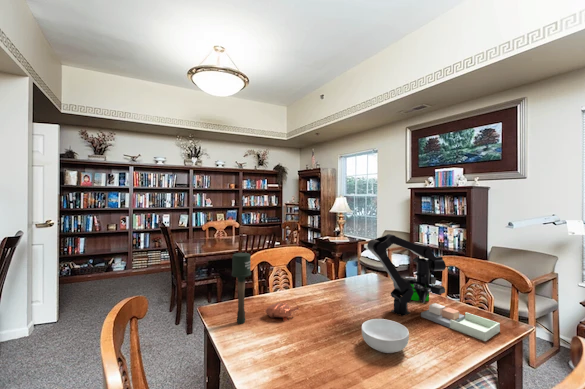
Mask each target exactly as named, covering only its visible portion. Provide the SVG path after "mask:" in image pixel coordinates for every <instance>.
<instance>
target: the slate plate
mask: <svg viewBox="0 0 585 389" xmlns="http://www.w3.org/2000/svg"><path fill="white" fill-rule="evenodd" d="M420 317H421V318H424V319H426V320H428V321H431V322H434V323H436V324H439V325H440V326H444V327H446V328H449V329H451V328H450V320H451V319H448V318H445V317H443V316H442V315H437V314H434V313H431V312H429V309H427V310H424V311H422V312H420ZM463 319H465V315H464V314H461V313H459V318H458V319H456V320H454V321H457V322H459V321H461V320H463Z"/></svg>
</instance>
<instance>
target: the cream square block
mask: <svg viewBox="0 0 585 389" xmlns="http://www.w3.org/2000/svg"><path fill="white" fill-rule="evenodd" d="M445 308H447V307H446V306H444V305H442V304H440V303H436V302H435V303H430V304H429V305H428V310H429V312H431V313H434V314H437V315H442V310H443V309H445Z"/></svg>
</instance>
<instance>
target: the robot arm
mask: <svg viewBox="0 0 585 389" xmlns="http://www.w3.org/2000/svg"><path fill="white" fill-rule="evenodd" d="M393 244H394V245H396V246H398V247H401V248H404V249H405V250H409V251H411V253H413V254H415V255H417V256H415V258H413V259H412V262H414V263H416V272H415V273H414V275H415V276H416V277H417V281H416V279H414V277H413V278H410V277H411V276H407V277H408V278H405V277H402V276H401V274H400V273H399V271H398V270H397V268H396V267H395V264H393V262H392V260H391V259H390V257H389V256H388V250H387V249H389V248H390V247H391V246H392V245H393ZM366 247H367V250H369V251H370V253H372V255H374V256H375V257H376V258H377V259H378V260H379V262H380V263H381V265H382V266H383V268H384V270H385V271H386V273H387V274H388V276H389V277H390V279H391V280H392V282H393V284H392V285H393V290H391V292H390V296H391V298H393V309H392V310H390V312H392V313H393V314H396V315H397V316H401V317H404V316H406V315H409V314H411V312H410V311H409V310H408V304H410V303H411V298H412V296H413V293H414V291H413V289H415V291H416V292H417V294H418V296H419V298H420V300H421V301H420V303H421V304H425V302H426V301H425V300H426V298H427V295H428V294H429V295H430V293H432V294H435V295H443V294H445V293H446V287H444V285H440V284H437V283H436V282H437V277H434V276H433V275H432V272H437V271H445V270H446V267H447V264H446V262H445V260H444V259H443V258H444V257H443V256H435V255H434V253H433V251H432V250H433V249H432V248H431V247H430V246H427V245H423V244H421V243H420V244H419V243H414V242H411V241H409V240H406V239H403V238H401V237H398V236H396V235H395V234H393V233H392V234H391V233H387V234H385V235H383V236H379V237H377V238H375V239H373V238H372V239H370V240H369V241H368V242H367V245H366ZM420 257H421V258H420ZM430 271H432V272H431V273H430ZM411 284H413V285H414V288H413V287H412V286H411ZM412 288H413V289H412Z"/></svg>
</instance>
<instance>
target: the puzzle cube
mask: <svg viewBox="0 0 585 389" xmlns="http://www.w3.org/2000/svg"><path fill="white" fill-rule="evenodd" d="M408 277H410V278H414V279H416V281H417V276H415V277H413V276H405V277H404V279H405V278H408ZM411 286H412V287H413V288H414V285H413V284H411ZM413 288H412V289H413ZM413 291H414V293H413V296H412V298H411V300H413V301H412V302H421V300H420V298H419V296H418V294H417V292H416V291H415V289H413ZM425 302H430V293H429V294H428V295H427V298H426V300H425Z"/></svg>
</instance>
